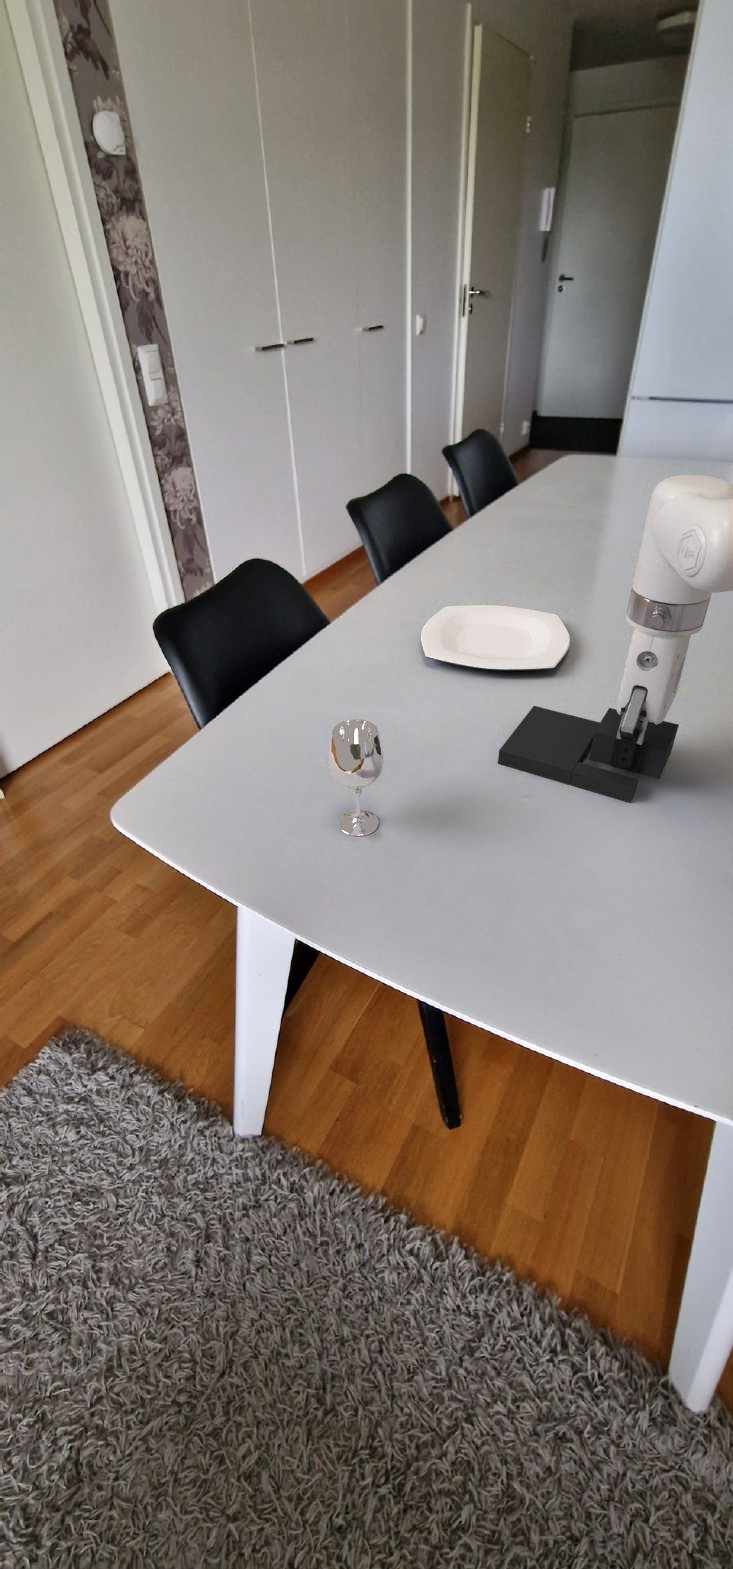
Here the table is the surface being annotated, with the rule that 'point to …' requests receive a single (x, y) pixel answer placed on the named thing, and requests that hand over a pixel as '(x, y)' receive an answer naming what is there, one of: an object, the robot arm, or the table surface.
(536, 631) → the plate
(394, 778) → the table surface
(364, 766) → the wineglass
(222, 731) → the table surface
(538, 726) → the socket pad
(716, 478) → the robot arm
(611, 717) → the black rectangular block
